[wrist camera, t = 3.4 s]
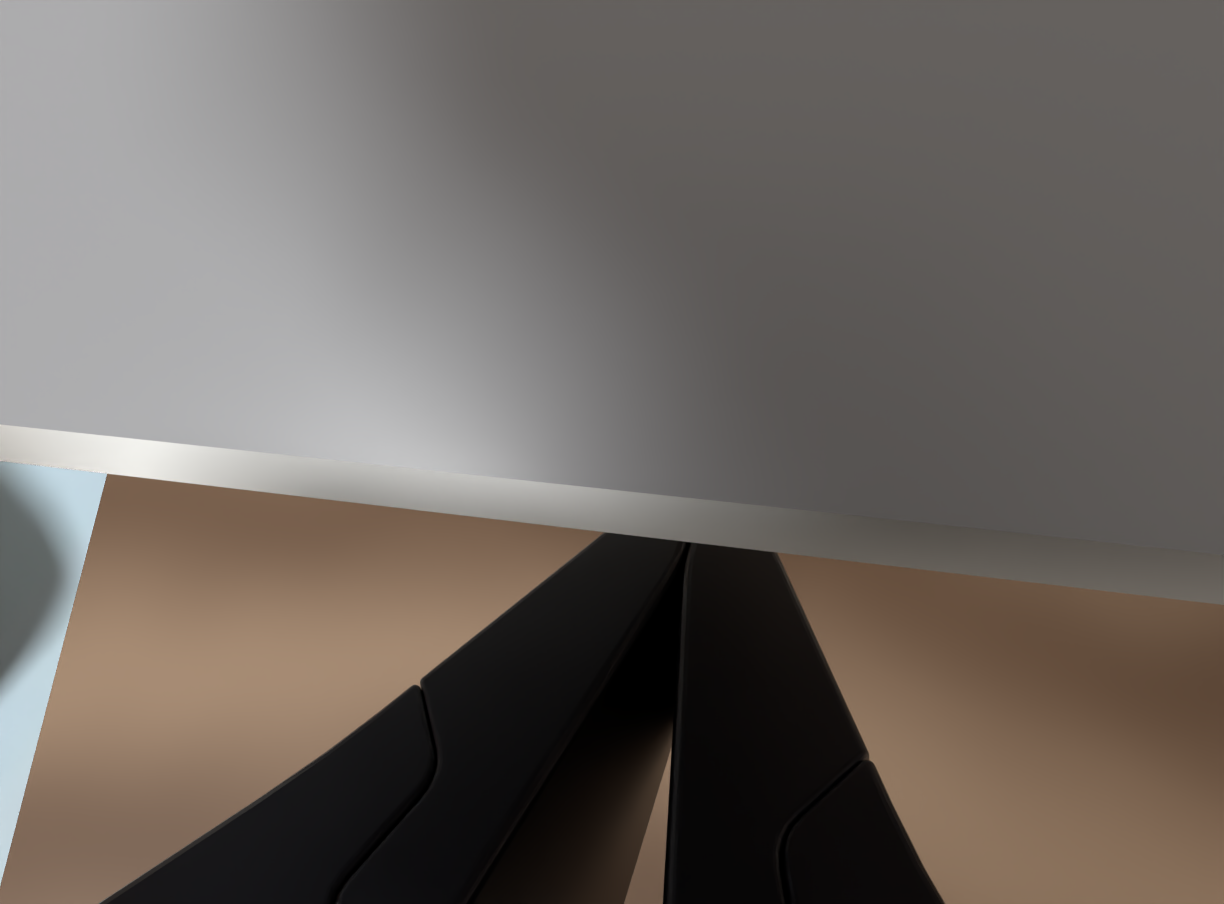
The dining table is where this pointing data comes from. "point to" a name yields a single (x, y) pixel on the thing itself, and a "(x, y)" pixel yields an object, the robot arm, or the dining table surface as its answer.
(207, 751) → the board
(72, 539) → the dining table surface
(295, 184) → the relay module
